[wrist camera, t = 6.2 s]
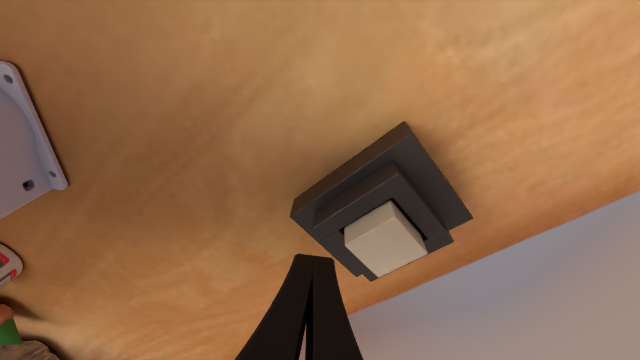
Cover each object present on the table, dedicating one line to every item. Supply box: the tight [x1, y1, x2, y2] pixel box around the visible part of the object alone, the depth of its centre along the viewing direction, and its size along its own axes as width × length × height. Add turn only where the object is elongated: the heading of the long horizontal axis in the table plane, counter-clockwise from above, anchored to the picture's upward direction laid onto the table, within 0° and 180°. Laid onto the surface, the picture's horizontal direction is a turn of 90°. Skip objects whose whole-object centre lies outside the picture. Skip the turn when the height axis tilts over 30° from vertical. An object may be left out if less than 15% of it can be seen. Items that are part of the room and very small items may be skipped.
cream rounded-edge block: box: [344, 200, 428, 277], centre depth 17 cm, size 4×4×2 cm
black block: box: [290, 122, 473, 281], centre depth 19 cm, size 10×8×4 cm
